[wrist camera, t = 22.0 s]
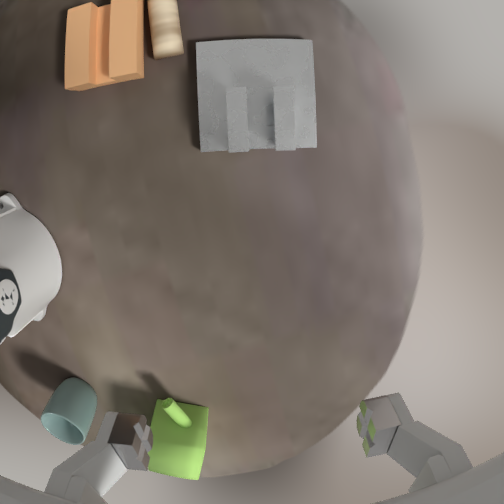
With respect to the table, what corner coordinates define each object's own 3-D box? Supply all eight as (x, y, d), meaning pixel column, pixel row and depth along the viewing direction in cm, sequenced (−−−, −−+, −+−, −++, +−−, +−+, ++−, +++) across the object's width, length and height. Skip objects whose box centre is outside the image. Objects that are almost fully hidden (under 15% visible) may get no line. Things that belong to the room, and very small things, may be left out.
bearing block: (202, 150, 34) (195, 154, 28) (198, 47, 30) (190, 30, 24) (312, 146, 34) (327, 150, 28) (308, 44, 30) (321, 28, 24)
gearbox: (148, 373, 45) (134, 419, 36) (212, 385, 46) (209, 433, 37) (147, 438, 51) (139, 477, 42) (199, 447, 52) (196, 488, 43)
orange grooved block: (80, 91, 30) (64, 89, 27) (82, 18, 27) (67, 9, 23) (147, 78, 30) (136, 72, 27) (147, 2, 27) (138, -10, 23)
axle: (150, 55, 27) (157, 62, 30) (181, 48, 27) (185, 55, 30) (141, -44, 22) (147, -33, 25) (169, -51, 22) (173, -40, 25)
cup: (109, 390, 46) (92, 435, 37) (92, 409, 48) (75, 450, 38) (70, 363, 44) (47, 405, 35) (56, 384, 46) (35, 423, 36)
